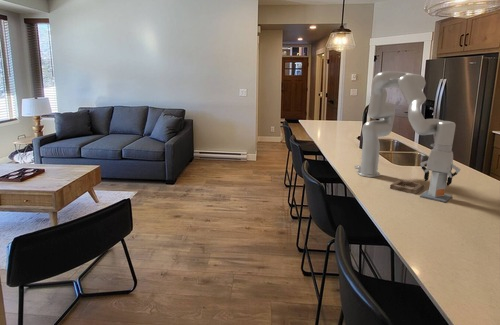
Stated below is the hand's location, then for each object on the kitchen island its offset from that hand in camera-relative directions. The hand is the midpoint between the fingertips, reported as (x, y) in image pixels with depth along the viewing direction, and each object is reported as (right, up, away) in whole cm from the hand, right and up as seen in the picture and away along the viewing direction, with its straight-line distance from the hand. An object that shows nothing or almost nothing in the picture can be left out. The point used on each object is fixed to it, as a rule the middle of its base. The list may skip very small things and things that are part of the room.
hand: (437, 182), depth 169 cm
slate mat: (0, -7, +1) cm, 7 cm away
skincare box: (0, -6, +1) cm, 7 cm away
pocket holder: (-8, -4, +14) cm, 17 cm away
